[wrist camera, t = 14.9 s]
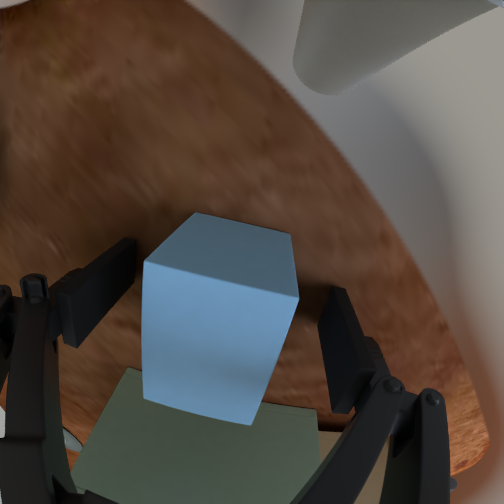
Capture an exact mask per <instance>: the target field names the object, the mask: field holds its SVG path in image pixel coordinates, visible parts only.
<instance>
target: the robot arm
mask: <svg viewBox="0 0 504 504" xmlns="http://www.w3.org/2000/svg"><path fill="white" fill-rule="evenodd" d="M135 255H136V240H134V239H130V238H126V237H125V238H123V239H122V240H120V241H119V242H118V243H116V244H115V245H114V246H112V247H111V248H109V249H108V250H107V251H105V252H104V253H103V254H101V255H100V256H99V257H97V258H96V259H95V260H93V261H92V262H91V263H89V264H88V265H87V266H86V267H84V268H83V269H81V268H77V269H74V270H72V271H70V272H68V273H67V274H66V275H64V277H62V278H60V279H59V281H57V282H55V283H54V284H53V285H51V286H50V287H49V288H48V284H47V278H46V277H45V276H44V275H42V274H36V273H35V274H29V275H26V276H24V277H23V278H22V279H21V280H20V286H21V292H22V297H23V298H22V297H16V296H12V292H11V288H10V287H9V286H7V285H0V393H1V390H2V387H3V385H4V382H5V379H6V377H7V374H8V372H9V374H8V384H7V395H6V413H5V437H4V438H0V491H1V499H2V504H119V503H117V502H115V501H112V500H110V499H107V498H105V497H103V496H100V495H98V494H96V493H94V492H91V491H89V490H87V489H86V491H85V493H84V494H81V493H78V492H77V489H76V486H75V484H74V482H73V479H72V477H71V474H70V469H69V464H68V459H67V453H66V447H65V441H64V434H63V426H62V417H61V406H60V393H59V369H58V340H57V338H58V336H59V335H60V334H61V333H62V336H63V341H64V343H65V344H68V345H70V346H72V347H74V348H78V347H79V346H80V344H81V343H82V342H83V341H84V340H85V338H86V337H87V336H88V335H89V334H90V332H91V331H92V330H93V329H94V328H95V326H96V325H97V324H98V323H99V322H100V321H101V319H102V318H103V317H104V316H105V315H106V314H107V312H108V311H109V310H110V309H111V308H112V307H113V306H114V304H115V303H116V302H117V301H118V300H119V299H120V298H121V297H122V295H123V294H124V293H125V292H126V291H127V290H128V289H129V288H130V286H131V285H132V284H133V283H134V277H135ZM317 327H318V332H319V338H320V343H321V349H322V354H323V360H324V366H325V372H326V378H327V384H328V390H329V396H330V403H331V410H332V413H341V414H348V413H349V412H350V410H351V409H352V408H353V406H354V407H355V412H356V413H355V414H354V416H353V417H352V418H351V420H350V421H349V422H348V424H347V425H346V426H345V427H344V428H345V429H344V431H343V433H342V434H341V436H340V437H339V439H338V440H337V442H336V443H335V445H334V446H333V448H332V449H331V450H330V452H329V453H328V455H327V456H326V458H325V459H324V460H323V462H322V463H321V464H320V466H319V467H318V469H317V470H316V471H315V473H314V474H313V475H312V476H311V478H310V479H309V480H308V482H307V483H306V484H305V485H304V487H303V488H302V489H301V490H300V492H299V493H298V494H297V495H296V496H295V498H294V499H293V500H292V501H291V502H290V503H289V504H354V502H355V501H356V499H357V497H358V495H359V494H360V492H361V490H362V488H363V487H364V485H365V483H366V481H367V479H368V477H369V475H370V474H371V472H372V470H373V468H374V466H375V464H376V462H377V460H378V457H379V455H380V453H381V451H382V449H383V447H384V445H385V442H386V440H387V438H388V435H389V434H390V439H389V448H388V455H387V462H386V469H385V475H384V481H383V486H382V491H381V496H380V501H379V504H450V449H449V434H448V423H447V414H446V406H445V400H444V398H443V396H442V395H441V394H440V393H439V392H438V391H436V390H434V389H430V388H426V389H424V390H423V391H422V392H421V393H420V394H419V395H417V394H413V393H410V392H407V391H405V387H404V385H403V383H402V382H401V381H400V380H398V379H397V378H396V377H393V376H391V374H390V372H389V369H388V367H387V364H386V362H385V359H384V358H383V354H382V353H381V350H380V347H379V345H378V343H377V342H376V341H375V340H374V339H373V338H372V337H367V336H364V334H363V331H362V329H361V326H360V324H359V321H358V319H357V316H356V314H355V311H354V309H353V306H352V304H351V301H350V299H349V297H348V294H347V292H346V289H344V288H339V287H335V286H333V287H332V289H331V292H330V295H329V297H328V300H327V303H326V305H325V308H324V310H323V313H322V315H321V318H320V320H319V323H318V325H317Z"/></svg>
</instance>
